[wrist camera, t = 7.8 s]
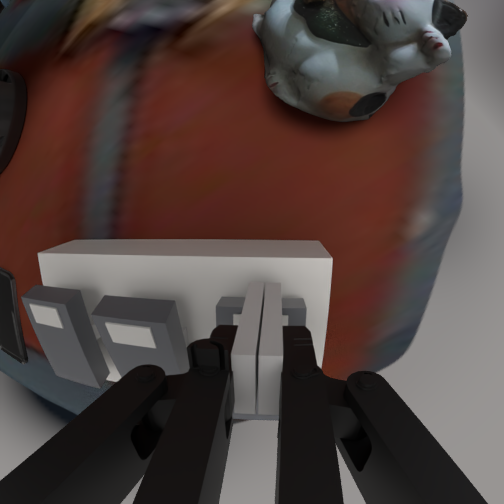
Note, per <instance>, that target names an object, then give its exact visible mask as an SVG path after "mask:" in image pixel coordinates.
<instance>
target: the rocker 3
mask: <svg viewBox="0 0 504 504" xmlns="http://www.w3.org/2000/svg"><path fill="white" fill-rule="evenodd" d="M245 298H246V297H221V298H220V300H219V302H218V303H217V305H216V327H217V326H218V325H239V321H240V317H241V314H242V310H243V306H244V302H245ZM264 299H265V298H264ZM281 299H282V326H306V312H307V308H306V305H305V302H304V299H303V298H281ZM232 416H233V419H249V420H279V415H260V414H258V395H257V405H256V414H241V413H234V409H233V414H232Z"/></svg>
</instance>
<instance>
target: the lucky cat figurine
mask: <svg viewBox="0 0 504 504" xmlns="http://www.w3.org/2000/svg"><path fill="white" fill-rule="evenodd" d="M253 15H254V19H253V24H252V26H253V29H254V31H255V32H256V34H257V35H258V37H259V38H260V41H261V43H262V46H263V49H264V61H265V79H266V83H267V86H268V87H269V88H270V89H271V91H272V92H273V93H274V94H275V95H276V96H277V97H278V98H280V99H281V100H283V101H284V102H285V103H287V104H289V105H290V106H293V107H295V108H298V109H300V110H302V111H304V112H307V113H309V114H312V115H315V116H318V117H321V118H324V119H328V120H332V121H338V122H348V121H356V120H365V119H369V118H370V117H371V116H372V115H373V114H374V113H375V112H376V111H377V110H378V109H379V108H381V107H382V106H383V105H384V104H385V102H386V101H387V100H388V98H389V96H390V95H391V94H392V93H393V92H394V90H395V88H396V86H397V85H398V84H399V83H401V82H403V81H405V80H408V79H410V78H413V77H415V76H417V75H419V74H421V73H422V72H426V73H428V72H430V71H432V70H434V69H435V68H436V67H437V66H438V65H440V64H441V63H445V62H447V61H448V60H449V58H450V57H451V50H450V47H449V44H448V41H447V39H448V38H449V37H450V36H454V35H456V33H457V31H458V30H460V29H461V28H462V27H463V26H464V24H465V22H466V21H467V16H468V15H467V14H466V12H465V11H464V10H462V9H460V8H459V7H458V6H456V5H455V4H453V3H451V2H448V1H446V0H272V2H271V5H270V9H268V11H267V12H265V13H264V15H260V14H253Z"/></svg>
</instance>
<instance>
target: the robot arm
mask: <svg viewBox="0 0 504 504" xmlns="http://www.w3.org/2000/svg"><path fill="white" fill-rule="evenodd" d="M9 2H10V0H0V13H1V12H2V10H3V9H4V8H7V6H8V5H9ZM26 103H27V92H26V85H25V81H24V79H23V77H22V76H21V75H20V74H19V73H17V72H14V71H10V70H7V69H0V173H1V172H2V171H3V170H4V168H5V167H6V165H7V164H8V162H9V161H10V159H11V157H12V155H13V153H14V151H15V148H16V146H17V143H18V140H19V137H20V134H21V131H22V127H23V123H24V118H25V112H26ZM187 353H188V360H189V367H190V368H189V370H188V372H186V373H183V374H177V375H166V374H165V371H164V370H163V369H162V368H161V367H159V366H157V365H152V364H146V365H140V366H137V367H135V368H133V369H132V370H130V371H129V372H128V373H127V374H125V375H124V376H123V377H122V378H121V379H120V380H119V381H117V382H116V383H115V384H114V385H113V386H112V387H110V388H109V389H108V390H107V391H106V392H105V393H103V394H102V395H101V396H100V397H99V398H98V399H96V400H95V401H94V402H93V403H92V404H91V405H89V406H88V407H87V408H86V409H85V410H84V411H82V412H81V413H80V414H79V415H78V416H77V417H76V418H75V419H73V420H72V421H71V422H70V423H68V424H67V425H66V426H65V427H64V428H63V429H61V430H60V431H59V432H58V433H57V434H55V435H54V436H53V437H52V438H51V439H50V440H48V441H47V442H46V443H45V444H44V445H43V446H41V447H40V448H39V449H38V450H37V451H35V452H34V453H33V454H32V455H31V456H29V457H28V458H27V459H26V460H25V461H23V462H22V463H21V464H20V465H19V466H18V467H16V468H15V469H14V470H13V471H11V472H10V473H9V474H8V475H7V476H5V477H4V478H3V479H2V480H1V481H0V504H120V503H121V502H122V501H123V500H124V499H125V497H126V496H127V495H128V494H129V493H130V491H131V490H132V489H133V488H134V486H135V485H136V484H137V483H138V481H139V480H140V479H141V478H142V477H143V475H144V474H145V475H144V477H143V480H142V482H141V484H140V487H139V489H138V492H137V494H136V497H135V499H134V501H133V504H219V499H220V493H221V488H222V483H223V477H224V471H225V466H226V461H227V455H228V449H229V444H230V438H231V432H232V427H233V416H232V414H233V409H234V413H241V414H256V405H257V395H258V414H260V415H279V424H278V437H277V438H278V448H277V471H276V490H275V504H344V503H343V494H342V486H341V479H340V471H339V465H338V457H337V451H336V445H337V447H338V449H339V451H340V453H341V455H342V457H343V459H344V461H345V463H346V465H347V467H348V469H349V471H350V473H351V475H352V476H353V479H354V481H355V482H356V485H357V487H358V488H359V490H360V492H361V494H362V496H363V498H364V500H365V502H366V504H488V503H487V502H486V501H485V500H484V498H483V497H482V496H481V495H480V493H479V492H478V491H477V489H476V488H475V487H474V486H473V484H472V483H471V482H470V481H469V479H468V478H467V477H466V476H465V475H464V473H463V472H462V471H461V470H460V468H459V467H458V466H457V465H456V463H455V462H454V461H453V460H452V459H451V457H450V456H449V455H448V454H447V452H446V451H445V450H444V449H443V448H442V446H441V445H440V444H439V443H438V442H437V440H436V439H435V438H434V437H433V436H432V434H431V433H430V432H429V431H428V430H427V428H426V427H425V426H424V425H423V424H422V422H421V421H420V420H419V419H418V418H417V416H416V415H415V414H414V413H413V412H412V410H411V409H410V408H409V407H408V406H407V405H406V403H405V402H404V401H403V400H402V399H401V398H400V396H399V395H398V394H397V393H396V392H395V391H394V389H393V388H392V387H391V386H390V385H389V383H388V382H387V381H386V380H385V379H384V378H383V377H382V376H381V375H379V374H377V373H374V372H370V371H358V372H355V373H353V374H351V375H350V376H349V377H348V378H347V381H344V380H338V379H333V378H330V377H328V376H326V375H324V374H323V371H322V369H321V368H320V367H319V366H317V361H316V356H315V350H314V346H313V340H312V335H311V331H310V330H309V329H308V328H307V327H306V326H282V299H281V283H266V289H265V299H264V283H262V282H250V283H249V286H248V290H247V294H246V298H245V302H244V306H243V310H242V314H241V317H240V321H239V325H218V326H217V327H216V328H214V329H213V330H212V333H211V335H210V338H206V339H200V340H196V341H194V342H192V343H190V344H189V345H188V346H187ZM335 443H336V444H335Z"/></svg>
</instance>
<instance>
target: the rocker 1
mask: <svg viewBox="0 0 504 504" xmlns="http://www.w3.org/2000/svg"><path fill="white" fill-rule="evenodd" d="M21 298H22V301H23V304H24V306H25V309H26V312H27V314H28V317H29V319H30V321H31V324H32V326H33V328H34V331H35V333H36V335H37V337H38V340H39V342H40V344H41V346H42V348H43V350H44V352H45V354H46V356H47V358H48V360H49V362H50V364H51V366H52V368H53V370H54V372H55V373H56V375H57V376H59V377H62V378H65V379H68V380H72V381H75V382H78V383H82V384H85V385H89V386H92V387H96V388H100V389H101V387H102V386H103V384H104V382H105V380H106V379H107V377H108V375H109V374H110V371H109V369H108V366H107V364H106V362H105V359H104V357H103V354H102V352H101V349H100V347H99V344H98V341H97V339H96V336H95V333H94V331H93V328H92V325H91V322H90V319H89V316H88V313H87V310H86V307H85V304H84V301H83V297H82V294H81V291H80V290H77V289H67V288H59V287H50V286H42V285H35V286H34V287H33V288H31V289H30V290H29V291H28V292H26V293H25V294H24V295H23V296H22V297H21Z"/></svg>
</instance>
